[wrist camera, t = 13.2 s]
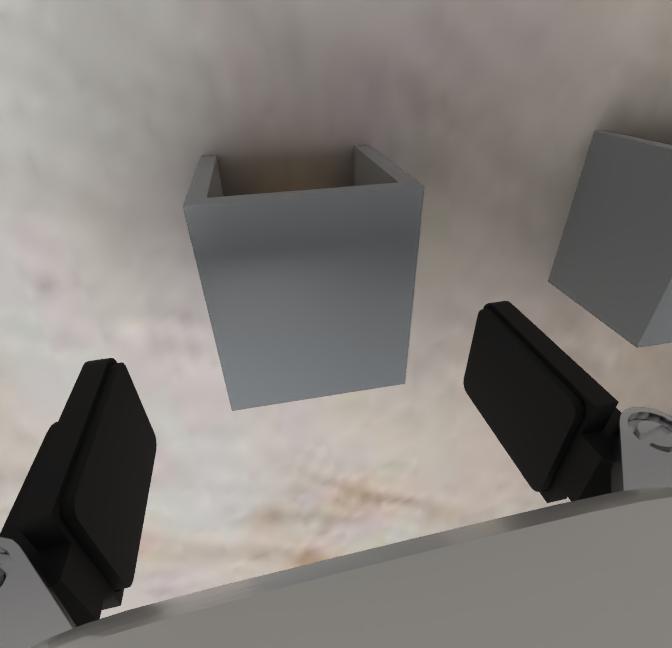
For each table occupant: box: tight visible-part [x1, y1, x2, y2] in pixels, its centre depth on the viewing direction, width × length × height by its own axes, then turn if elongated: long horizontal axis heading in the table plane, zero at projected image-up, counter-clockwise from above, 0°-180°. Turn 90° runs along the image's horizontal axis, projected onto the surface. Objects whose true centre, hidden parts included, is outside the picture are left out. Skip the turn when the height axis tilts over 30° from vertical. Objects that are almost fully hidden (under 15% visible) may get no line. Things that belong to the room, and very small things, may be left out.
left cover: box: [183, 145, 424, 411], centre depth 17 cm, size 7×8×6 cm
